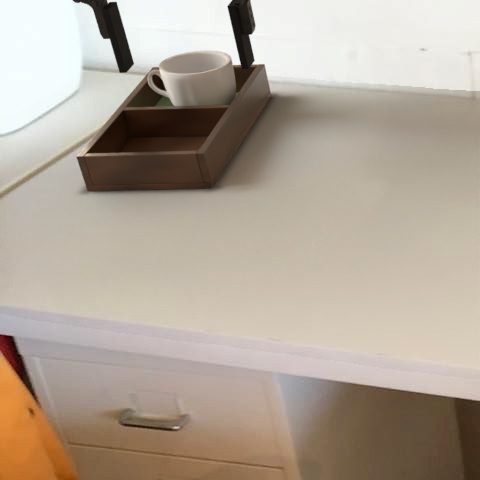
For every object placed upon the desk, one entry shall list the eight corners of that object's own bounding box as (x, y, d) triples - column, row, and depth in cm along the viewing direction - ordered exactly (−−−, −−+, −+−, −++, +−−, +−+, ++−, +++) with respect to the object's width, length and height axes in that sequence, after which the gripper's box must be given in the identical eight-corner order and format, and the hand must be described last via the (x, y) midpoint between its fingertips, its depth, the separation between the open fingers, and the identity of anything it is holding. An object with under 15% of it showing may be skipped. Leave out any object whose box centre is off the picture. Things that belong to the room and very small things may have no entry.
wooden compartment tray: (87, 191, 133) (75, 156, 130) (161, 98, 152) (152, 66, 149) (212, 188, 132) (203, 153, 130) (271, 95, 151) (264, 63, 148)
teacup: (252, 99, 148) (241, 50, 144) (228, 125, 142) (215, 75, 139) (170, 98, 149) (157, 49, 146) (142, 123, 144) (128, 74, 140)
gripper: (264, -167, 130) (306, 51, 145) (22, -158, 132) (88, 57, 146) (245, -150, 125) (291, 75, 139) (-7, -141, 126) (64, 82, 140)
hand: (187, 67), depth 143 cm, fingers open, 13 cm apart
